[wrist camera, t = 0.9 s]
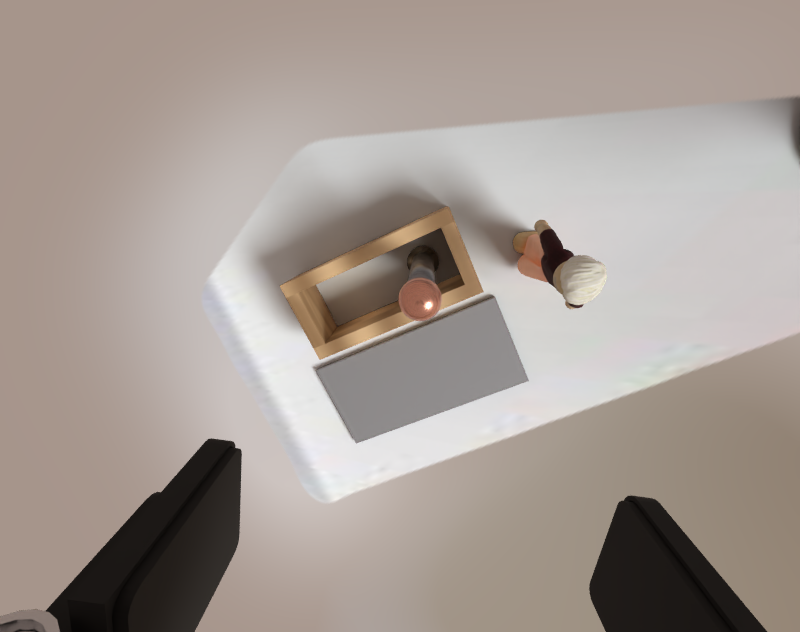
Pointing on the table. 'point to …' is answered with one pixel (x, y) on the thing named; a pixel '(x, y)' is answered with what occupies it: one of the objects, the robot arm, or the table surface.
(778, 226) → the table surface
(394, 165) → the table surface
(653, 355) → the table surface
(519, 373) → the rubber mat
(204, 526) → the robot arm
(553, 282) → the grandmother figurine
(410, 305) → the post stand
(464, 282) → the open wooden frame
